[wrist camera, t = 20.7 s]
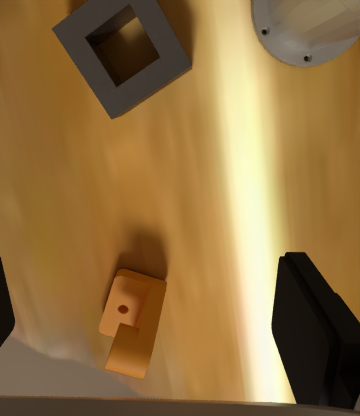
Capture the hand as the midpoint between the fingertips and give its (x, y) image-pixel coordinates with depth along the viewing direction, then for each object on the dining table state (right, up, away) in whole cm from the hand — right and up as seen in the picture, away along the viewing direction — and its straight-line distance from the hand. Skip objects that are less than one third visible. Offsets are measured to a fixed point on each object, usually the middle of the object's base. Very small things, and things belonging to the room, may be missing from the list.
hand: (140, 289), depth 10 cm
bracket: (-6, -11, +37) cm, 39 cm away
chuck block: (-4, +20, +25) cm, 32 cm away
